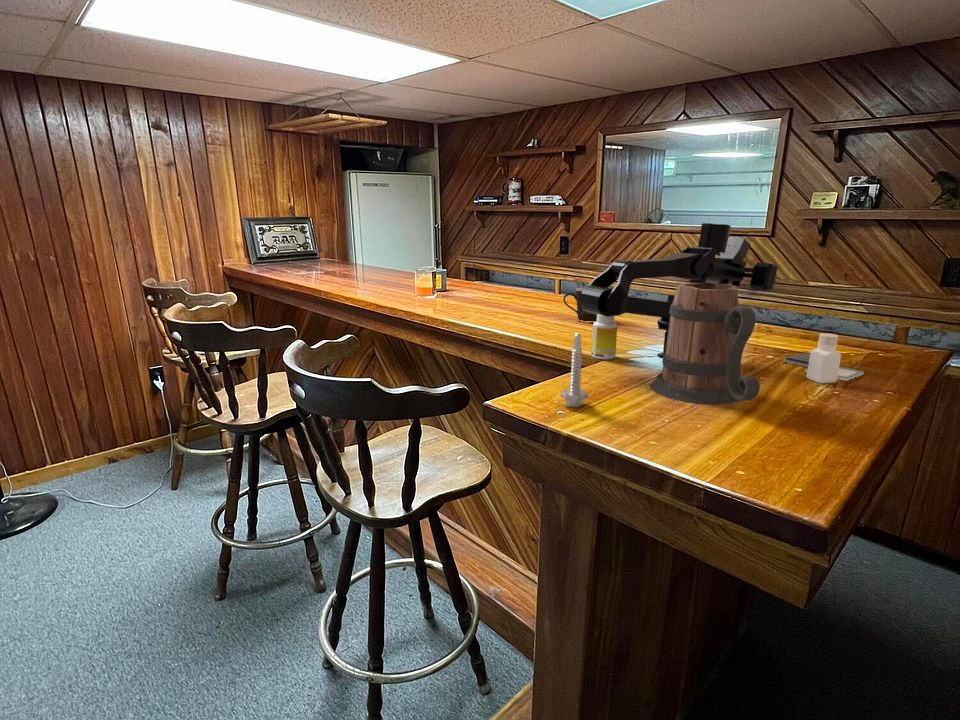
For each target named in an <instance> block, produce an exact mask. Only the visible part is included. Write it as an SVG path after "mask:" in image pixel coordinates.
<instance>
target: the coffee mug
mask: <svg viewBox="0 0 960 720" xmlns="http://www.w3.org/2000/svg"><path fill="white" fill-rule="evenodd" d="M585 288H586V287H581V288H578V287H577V288H576V289H575V293H571V292H569V293H566V294H565V295H563V302H564V305H566V306H567V307H568V308H569V309H570V310H572V311H574V312H575V313H576V315H577V320H578V319H579V320H583V321H597V314H594V313H590V312H586V311H584V310H582V307H581V306H580V295H581V293H582V291H583V290H584V289H585ZM568 296H573V298H574V300H575V301H576V309H575V308H573V307H572V306H570V305H569V304H568V303H567V301H566V298H567V297H568Z"/></svg>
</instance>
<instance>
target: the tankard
mask: <svg viewBox="0 0 960 720" xmlns="http://www.w3.org/2000/svg"><path fill="white" fill-rule="evenodd" d="M738 288H739V287H737V286H735V285H729V284H704V283H681V284H677V286H676V289H675V294H674V295H675V297H674V300H673V304H671V306H670V322H669V330H668V337H667V344H666V351H665V353H664V354H663V357H662V362H661V363H662V371H661V372H660V373H659V374H657V375H656V378H655V379H654V380H652V381H651V382H650V384H649V389H651V391H653V392H654V393H656V394H657V395H659V396H660V397H665V398H667V399H670V400H674V401H677V402H683V403H688V404H695V405H696V404H697V405H706V406H707V405H708V406H711V405H712V406H716V405H719V406H720V405H723V406H724V405H730V404H735V403H738V402H741V401H751V400H753V399H755V398H756V397H757V396H758V394H759V392H760V388H761V387H760V386H761V385H760V384H761V383H760V382H759V380H758V378H757V377H755V376H753V375H749V376H748V375H747V376H742V375H741V366H742V357H743V353H744V349H745V347H746V345H747V343H748V341H749V339H750V338H751V336H752V334H753V332H754V328H755V326H756V313H755V311H754V309H752V308H751V307H750V306H745V305H744V306H743V305H741V306H740V305H739V289H738Z"/></svg>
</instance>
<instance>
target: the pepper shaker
mask: <svg viewBox="0 0 960 720" xmlns="http://www.w3.org/2000/svg"><path fill="white" fill-rule="evenodd" d="M818 335H819V336H818V341H817V348H814V349H811V351H810V358H809V364H808V370H807V372H806V379H808V380H811V381H813V382H815V383H817V384H833V383H836V382H837V380H838V379H837V376H838V370H839V367H840V366H841V365H840V364H841V363H840V362H841V359H842V354H841V353H840V352H839V351H837V346H838V340H839V335H837V334H834V333H827V332H825V333H822V332H821V333H819V334H818Z"/></svg>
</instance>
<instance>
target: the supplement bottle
mask: <svg viewBox="0 0 960 720" xmlns="http://www.w3.org/2000/svg"><path fill="white" fill-rule="evenodd" d="M615 317H616V316H610V317H606V316H602V315H598V314H597V321H596V322H594V323H592V335H591V336H592V337H591V338H592V339H591V356H592V357H593V358H595V359H597V360H606V361H607V360H612V359H615V358H616V353H617V341H618V340H617V337H618V323H616V322H615Z"/></svg>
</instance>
